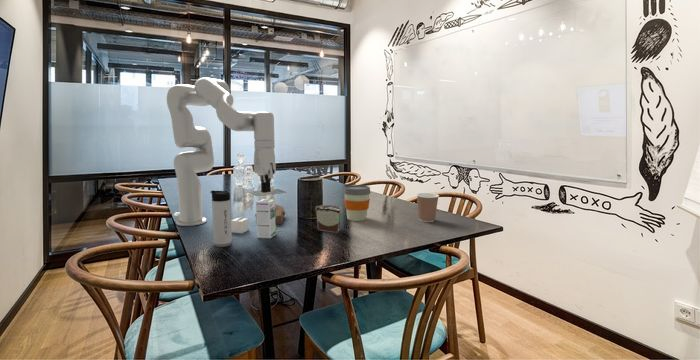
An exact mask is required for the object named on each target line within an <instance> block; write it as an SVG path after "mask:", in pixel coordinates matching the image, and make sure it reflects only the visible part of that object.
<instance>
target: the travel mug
mask: <svg viewBox="0 0 700 360" xmlns="http://www.w3.org/2000/svg"><path fill="white" fill-rule="evenodd" d="M210 194H211V208H212V209H211V210H212V231H213V234H212V235H213V246H214V247H217V248H225V247H229V246H232V244H233V234H232V233H233V232H231V220H232V215H231V213H232V211H231V210H232V209H231V208H232V207H231V194H230V192H229V191H224V190H213V189H212V190H210Z"/></svg>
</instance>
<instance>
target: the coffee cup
mask: <svg viewBox="0 0 700 360" xmlns="http://www.w3.org/2000/svg"><path fill="white" fill-rule="evenodd" d="M439 197H440V195H439V194H437V193H430V192H421V193H416V200H417V210H418V211H417V212H418V219H419V221H420V222H424V223H431V222H432V223H433V222H434V221H435V218H436V214H437V208H438V207H437V206H438V201H439Z"/></svg>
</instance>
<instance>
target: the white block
mask: <svg viewBox="0 0 700 360" xmlns="http://www.w3.org/2000/svg"><path fill="white" fill-rule="evenodd" d="M249 230H250V228H249V218H244V217H236V218H233V219H231V233H234V234H235V233H237V234H244V233H245V232H248V231H249Z"/></svg>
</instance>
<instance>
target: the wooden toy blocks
mask: <svg viewBox="0 0 700 360" xmlns="http://www.w3.org/2000/svg"><path fill="white" fill-rule="evenodd" d="M275 212H276V225H282V224H283V220H284V217H285V215H286V211H285V208H284V207H283V206H281V205H279V204H276V203H275ZM255 220H256V222H257V218H256V213H255Z"/></svg>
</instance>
